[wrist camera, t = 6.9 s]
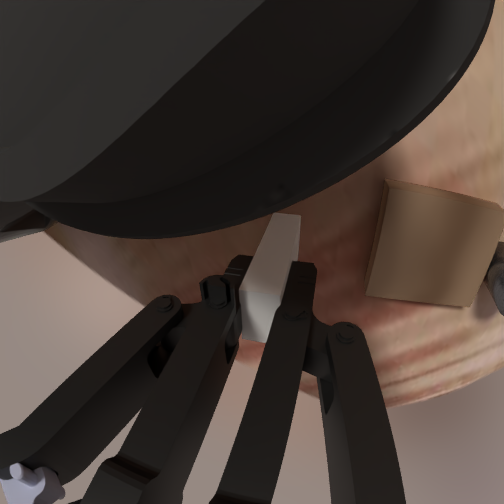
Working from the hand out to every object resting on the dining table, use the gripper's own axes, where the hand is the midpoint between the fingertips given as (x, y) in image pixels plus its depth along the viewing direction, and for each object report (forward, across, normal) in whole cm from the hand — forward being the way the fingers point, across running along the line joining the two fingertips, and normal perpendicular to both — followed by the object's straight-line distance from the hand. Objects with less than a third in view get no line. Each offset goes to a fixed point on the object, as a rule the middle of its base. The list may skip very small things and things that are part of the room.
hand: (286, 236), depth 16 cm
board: (+2, +9, 0) cm, 9 cm away
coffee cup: (+2, -1, +10) cm, 11 cm away
